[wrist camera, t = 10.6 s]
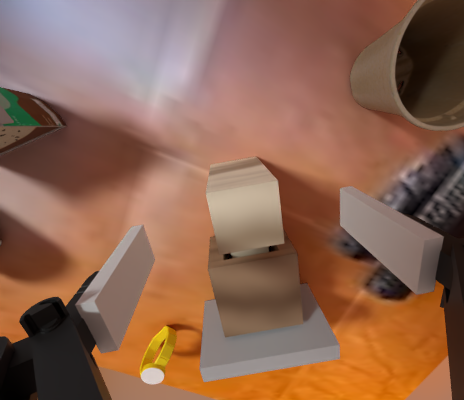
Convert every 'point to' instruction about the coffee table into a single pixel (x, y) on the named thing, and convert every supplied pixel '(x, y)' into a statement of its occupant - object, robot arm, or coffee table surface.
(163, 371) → the watch
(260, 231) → the cream l-shaped piece
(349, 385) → the coffee table surface
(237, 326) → the block
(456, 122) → the flower pot
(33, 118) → the half-round slice
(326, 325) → the wall
